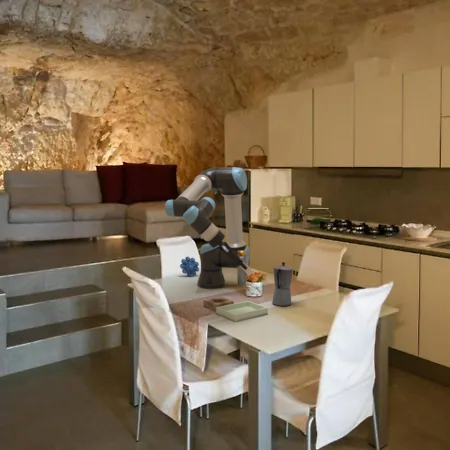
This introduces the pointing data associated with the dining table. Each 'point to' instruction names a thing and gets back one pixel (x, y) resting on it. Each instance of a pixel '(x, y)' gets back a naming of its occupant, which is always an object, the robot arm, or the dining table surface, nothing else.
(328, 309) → the dining table surface
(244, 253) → the grey bottle
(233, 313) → the tray
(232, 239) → the robot arm
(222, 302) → the socket block
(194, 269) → the grapes
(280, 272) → the moka pot
